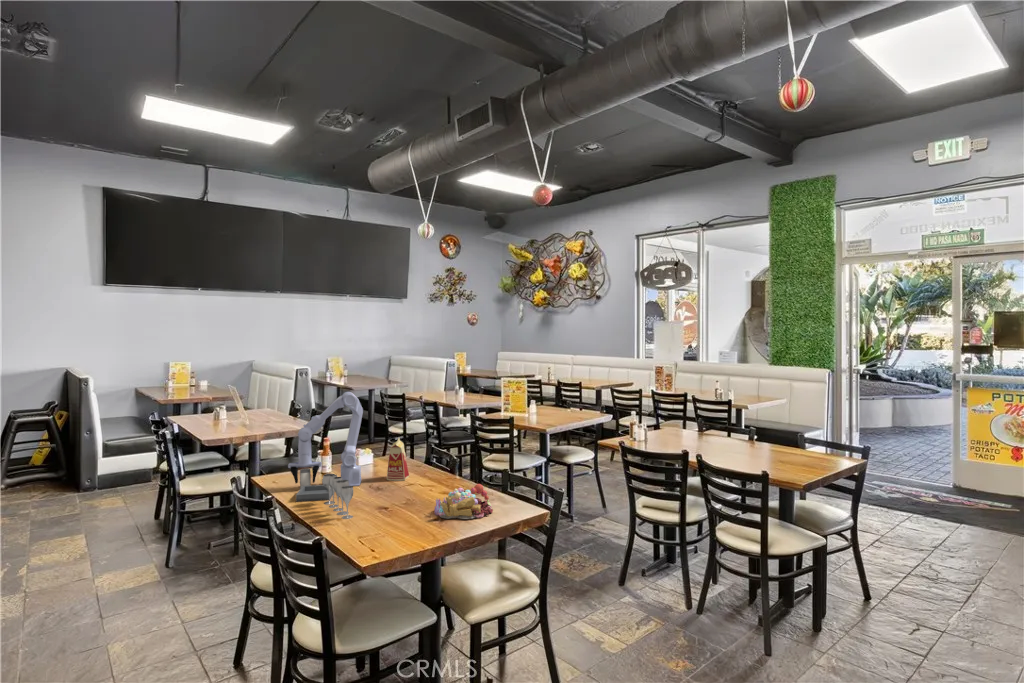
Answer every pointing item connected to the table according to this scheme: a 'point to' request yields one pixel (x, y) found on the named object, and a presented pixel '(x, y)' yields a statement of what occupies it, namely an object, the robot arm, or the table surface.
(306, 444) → the robot arm
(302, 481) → the cylinder
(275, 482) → the table surface
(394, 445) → the milk carton
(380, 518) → the table surface
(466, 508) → the candy landscape model
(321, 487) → the tray
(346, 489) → the goblet set
